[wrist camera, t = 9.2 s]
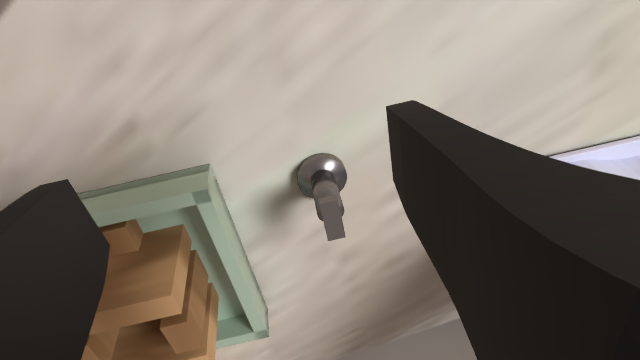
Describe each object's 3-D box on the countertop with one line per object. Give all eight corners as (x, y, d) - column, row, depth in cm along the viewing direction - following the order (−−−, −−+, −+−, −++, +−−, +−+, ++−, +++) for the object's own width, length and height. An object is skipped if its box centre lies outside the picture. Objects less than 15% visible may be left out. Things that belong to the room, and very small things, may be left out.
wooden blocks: (172, 200, 21) (156, 270, 17) (218, 296, 25) (214, 369, 21) (55, 227, 21) (15, 303, 17) (122, 318, 25) (100, 395, 21)
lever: (341, 148, 21) (355, 190, 18) (348, 188, 22) (362, 233, 20) (292, 159, 21) (299, 203, 18) (302, 199, 22) (310, 244, 20)
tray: (209, 163, 20) (206, 188, 19) (267, 308, 27) (269, 336, 25) (0, 211, 20) (-21, 241, 19) (108, 345, 27) (99, 376, 25)
